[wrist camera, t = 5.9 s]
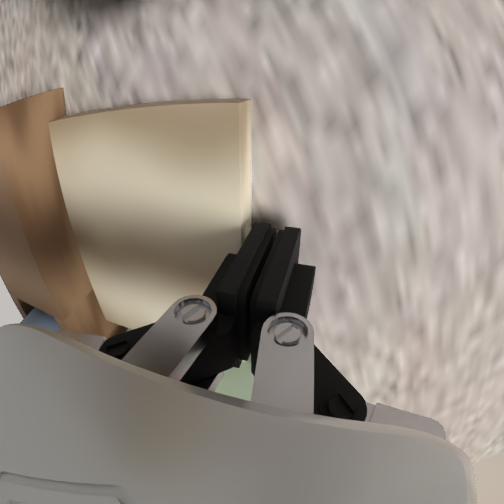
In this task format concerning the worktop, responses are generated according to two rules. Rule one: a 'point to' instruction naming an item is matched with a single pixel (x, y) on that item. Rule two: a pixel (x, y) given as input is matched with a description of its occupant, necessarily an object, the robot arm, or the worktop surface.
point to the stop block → (41, 223)
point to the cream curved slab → (155, 198)
